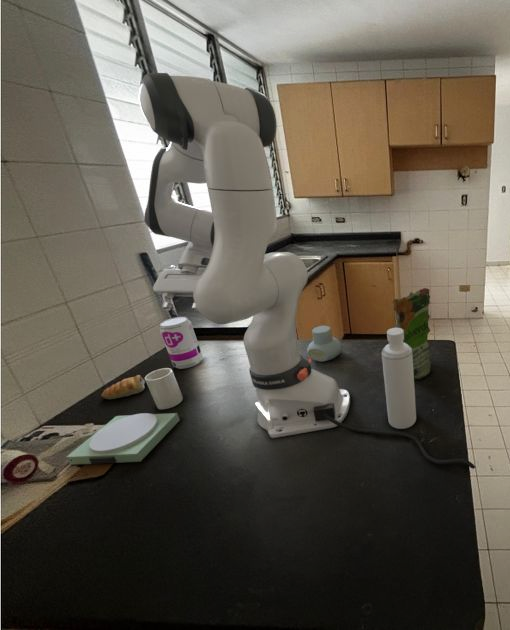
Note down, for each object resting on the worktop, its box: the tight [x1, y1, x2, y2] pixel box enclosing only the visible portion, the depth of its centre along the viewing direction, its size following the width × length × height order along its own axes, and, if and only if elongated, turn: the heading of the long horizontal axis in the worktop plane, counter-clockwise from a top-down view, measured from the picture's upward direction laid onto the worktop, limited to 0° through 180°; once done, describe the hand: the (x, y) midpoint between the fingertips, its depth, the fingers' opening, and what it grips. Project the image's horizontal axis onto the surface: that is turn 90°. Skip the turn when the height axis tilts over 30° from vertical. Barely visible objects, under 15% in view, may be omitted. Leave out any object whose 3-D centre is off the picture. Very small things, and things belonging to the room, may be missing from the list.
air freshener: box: [306, 325, 343, 362], centre depth 107 cm, size 11×8×10 cm
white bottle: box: [380, 327, 417, 430], centre depth 75 cm, size 7×7×25 cm
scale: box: [65, 412, 181, 466], centre depth 76 cm, size 15×13×3 cm
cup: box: [144, 367, 184, 410], centre depth 88 cm, size 6×6×9 cm
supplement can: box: [159, 316, 204, 370], centre depth 106 cm, size 8×8×15 cm
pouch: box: [391, 287, 432, 380], centre depth 94 cm, size 11×12×25 cm
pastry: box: [100, 374, 146, 400], centre depth 94 cm, size 9×7×4 cm
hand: (181, 309), depth 93 cm, fingers open, 8 cm apart
